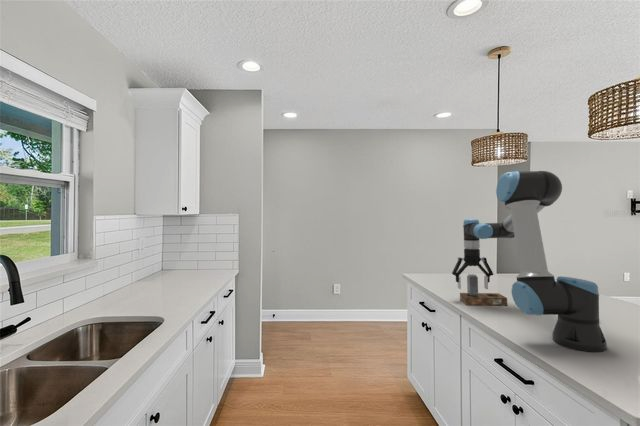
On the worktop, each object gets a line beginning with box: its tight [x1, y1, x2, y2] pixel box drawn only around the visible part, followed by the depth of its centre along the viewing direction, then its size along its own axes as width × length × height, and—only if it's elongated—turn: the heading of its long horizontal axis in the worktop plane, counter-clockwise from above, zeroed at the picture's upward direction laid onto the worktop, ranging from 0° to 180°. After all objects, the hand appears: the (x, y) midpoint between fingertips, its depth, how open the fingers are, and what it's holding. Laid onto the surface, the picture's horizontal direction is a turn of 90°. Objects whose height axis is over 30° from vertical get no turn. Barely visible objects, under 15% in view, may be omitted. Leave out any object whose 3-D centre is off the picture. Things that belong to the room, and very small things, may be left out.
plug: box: [466, 273, 479, 296], centre depth 171 cm, size 4×4×15 cm
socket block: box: [459, 292, 508, 307], centre depth 170 cm, size 20×10×4 cm, turn 84°
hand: (472, 288), depth 170 cm, fingers open, 13 cm apart
